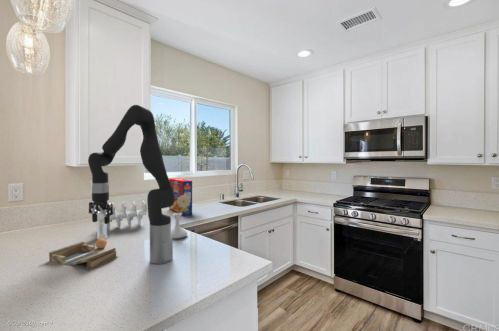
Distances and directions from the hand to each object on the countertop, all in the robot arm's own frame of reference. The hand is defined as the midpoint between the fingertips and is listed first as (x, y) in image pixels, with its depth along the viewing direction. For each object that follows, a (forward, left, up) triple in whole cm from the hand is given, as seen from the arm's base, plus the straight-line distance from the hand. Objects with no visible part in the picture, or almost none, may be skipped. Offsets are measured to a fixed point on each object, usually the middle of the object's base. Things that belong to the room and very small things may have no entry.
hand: (100, 222), depth 127 cm
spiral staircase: (+18, -32, -14) cm, 39 cm away
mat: (-6, +13, -13) cm, 19 cm away
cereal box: (+12, -83, -14) cm, 85 cm away
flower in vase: (-26, -30, -14) cm, 42 cm away
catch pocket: (+2, +13, -13) cm, 18 cm away
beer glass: (+14, -12, -14) cm, 23 cm away
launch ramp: (-11, +13, -13) cm, 21 cm away
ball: (0, 0, -11) cm, 11 cm away
